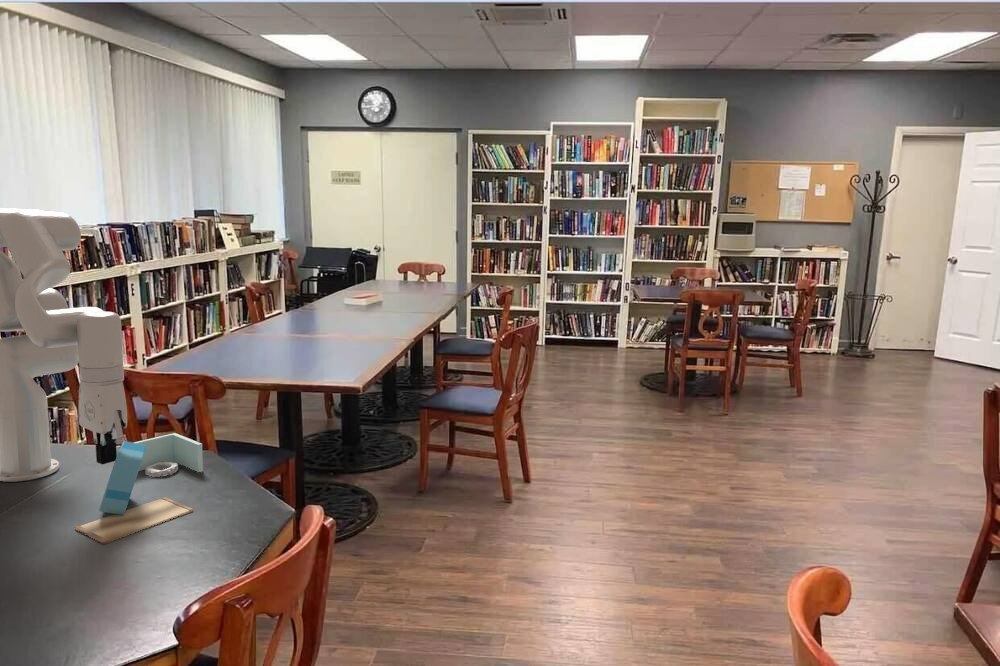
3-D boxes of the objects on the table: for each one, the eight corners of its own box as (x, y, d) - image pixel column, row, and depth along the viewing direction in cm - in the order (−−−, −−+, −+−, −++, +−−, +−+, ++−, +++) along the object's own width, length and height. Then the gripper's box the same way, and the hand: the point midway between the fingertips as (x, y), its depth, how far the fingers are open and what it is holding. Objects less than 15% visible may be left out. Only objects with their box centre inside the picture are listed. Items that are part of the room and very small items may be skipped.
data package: (123, 517, 131) (142, 459, 131) (97, 513, 129) (117, 454, 129) (129, 497, 142) (147, 443, 142) (106, 493, 140) (124, 439, 140)
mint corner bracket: (125, 475, 155) (124, 444, 153) (176, 462, 164) (175, 432, 163) (152, 488, 148) (151, 456, 147) (203, 474, 157) (202, 443, 156)
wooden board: (75, 529, 126) (74, 527, 126) (164, 498, 141) (164, 496, 141) (103, 544, 121) (103, 541, 121) (193, 511, 136) (193, 508, 136)
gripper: (62, 371, 133) (68, 459, 135) (103, 382, 125) (108, 475, 128) (101, 365, 139) (105, 449, 142) (142, 376, 131) (146, 464, 134)
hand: (106, 461), depth 135 cm, fingers closed
